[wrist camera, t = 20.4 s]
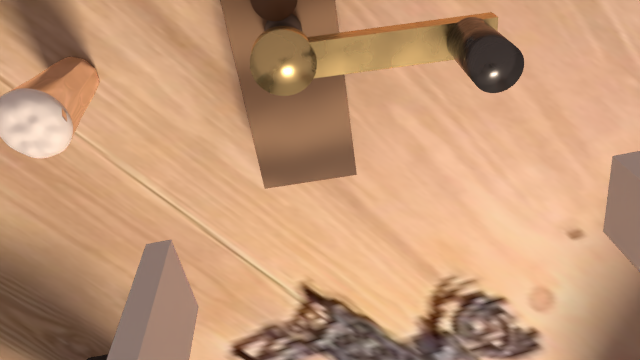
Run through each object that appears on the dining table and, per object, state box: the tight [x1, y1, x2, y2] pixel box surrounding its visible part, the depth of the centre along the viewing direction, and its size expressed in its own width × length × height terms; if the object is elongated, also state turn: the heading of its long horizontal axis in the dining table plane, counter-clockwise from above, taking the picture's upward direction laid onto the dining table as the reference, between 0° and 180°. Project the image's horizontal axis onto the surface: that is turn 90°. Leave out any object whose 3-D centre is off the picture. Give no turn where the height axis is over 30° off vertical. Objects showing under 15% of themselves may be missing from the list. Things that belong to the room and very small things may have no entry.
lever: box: [250, 12, 524, 96], centre depth 27 cm, size 13×4×6 cm, turn 97°
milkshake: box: [0, 56, 100, 158], centre depth 35 cm, size 5×5×10 cm
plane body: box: [220, 0, 357, 189], centre depth 35 cm, size 17×7×10 cm, turn 8°
